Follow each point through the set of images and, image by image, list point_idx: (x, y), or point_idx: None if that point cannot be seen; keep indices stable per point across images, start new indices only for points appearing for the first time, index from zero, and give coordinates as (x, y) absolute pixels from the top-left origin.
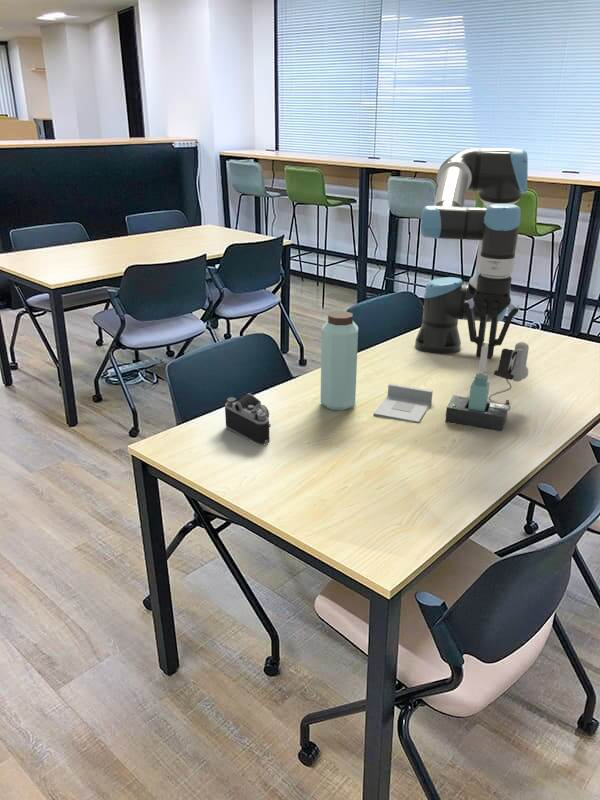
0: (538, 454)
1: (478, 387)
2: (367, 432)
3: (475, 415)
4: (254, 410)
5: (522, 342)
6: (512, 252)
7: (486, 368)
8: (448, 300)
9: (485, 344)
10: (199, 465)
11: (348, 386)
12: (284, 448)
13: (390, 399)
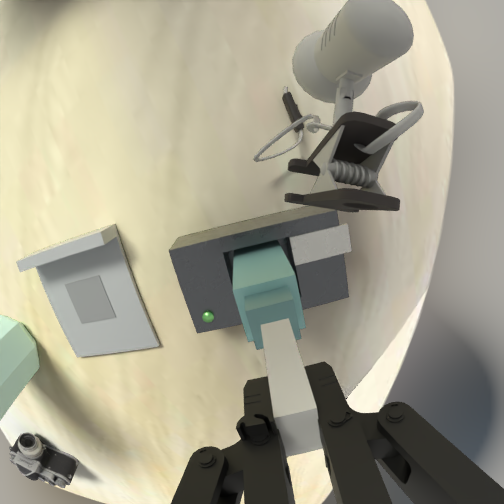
0: (409, 312)
1: None
2: (120, 407)
3: None
4: (50, 483)
5: (391, 15)
6: None
7: (289, 321)
8: None
9: (295, 429)
10: (84, 490)
11: (19, 385)
12: (95, 463)
13: (51, 281)
